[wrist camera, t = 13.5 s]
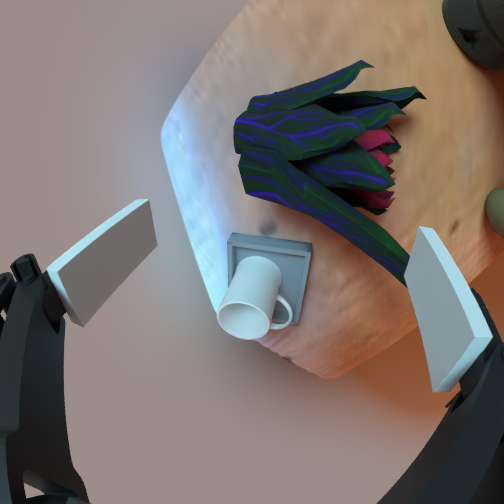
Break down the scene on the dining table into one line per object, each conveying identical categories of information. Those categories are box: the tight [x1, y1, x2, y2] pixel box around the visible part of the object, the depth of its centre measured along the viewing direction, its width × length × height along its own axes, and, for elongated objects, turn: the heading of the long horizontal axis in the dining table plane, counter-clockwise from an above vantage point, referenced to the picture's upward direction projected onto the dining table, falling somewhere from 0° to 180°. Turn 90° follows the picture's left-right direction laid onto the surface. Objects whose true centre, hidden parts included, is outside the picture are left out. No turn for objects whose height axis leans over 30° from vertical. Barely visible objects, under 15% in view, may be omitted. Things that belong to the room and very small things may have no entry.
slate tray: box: [227, 233, 312, 326], centre depth 49 cm, size 14×17×3 cm
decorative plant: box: [234, 60, 426, 288], centre depth 29 cm, size 21×26×30 cm
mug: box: [217, 256, 293, 340], centre depth 45 cm, size 12×8×12 cm
